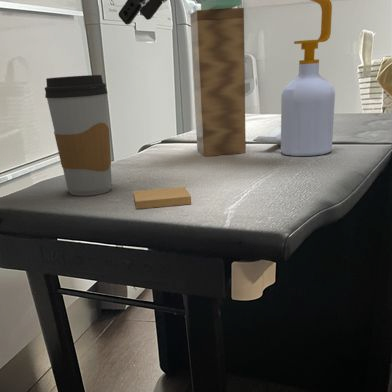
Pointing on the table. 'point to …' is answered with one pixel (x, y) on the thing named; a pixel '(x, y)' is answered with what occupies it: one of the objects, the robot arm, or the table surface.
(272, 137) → the toy fish
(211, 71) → the stand
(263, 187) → the table surface
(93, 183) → the coffee cup
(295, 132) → the soap bottle
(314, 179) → the table surface
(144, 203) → the tan flat block
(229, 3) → the mint green chair
